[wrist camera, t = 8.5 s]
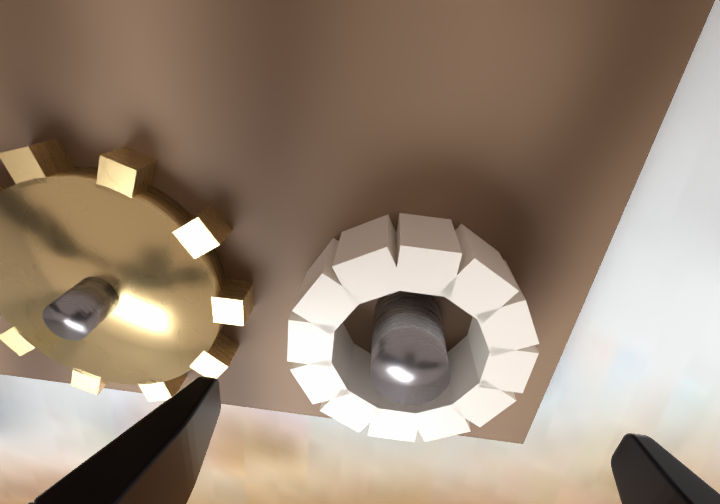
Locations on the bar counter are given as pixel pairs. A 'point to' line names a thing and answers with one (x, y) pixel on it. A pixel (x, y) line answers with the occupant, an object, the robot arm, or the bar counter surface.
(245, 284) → the brass drive gear
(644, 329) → the bar counter surface
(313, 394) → the ring gear
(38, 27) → the gear board
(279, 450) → the bar counter surface
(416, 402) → the steel peg
